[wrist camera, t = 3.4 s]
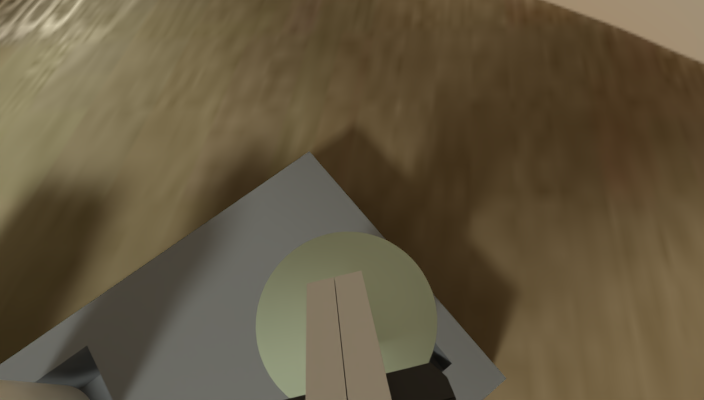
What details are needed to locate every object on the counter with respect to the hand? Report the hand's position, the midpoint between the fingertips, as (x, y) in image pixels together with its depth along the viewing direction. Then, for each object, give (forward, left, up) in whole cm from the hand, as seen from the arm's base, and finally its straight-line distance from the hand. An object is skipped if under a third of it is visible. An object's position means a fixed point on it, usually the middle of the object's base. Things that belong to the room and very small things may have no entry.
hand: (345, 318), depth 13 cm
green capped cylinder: (0, 0, -11) cm, 12 cm away
